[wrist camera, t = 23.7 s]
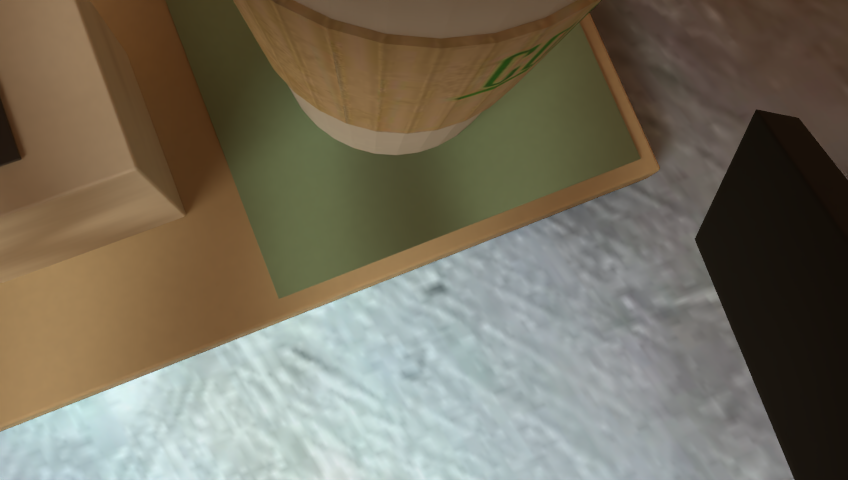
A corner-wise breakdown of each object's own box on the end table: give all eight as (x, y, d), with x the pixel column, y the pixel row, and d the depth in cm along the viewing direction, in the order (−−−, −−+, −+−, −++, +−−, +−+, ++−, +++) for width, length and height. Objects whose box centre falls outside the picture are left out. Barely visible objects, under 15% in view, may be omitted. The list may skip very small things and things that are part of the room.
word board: (-174, 500, 20) (-398, 554, 14) (-297, 81, 21) (-547, -32, 15) (649, 177, 24) (751, 111, 18) (495, -162, 25) (541, -331, 19)
